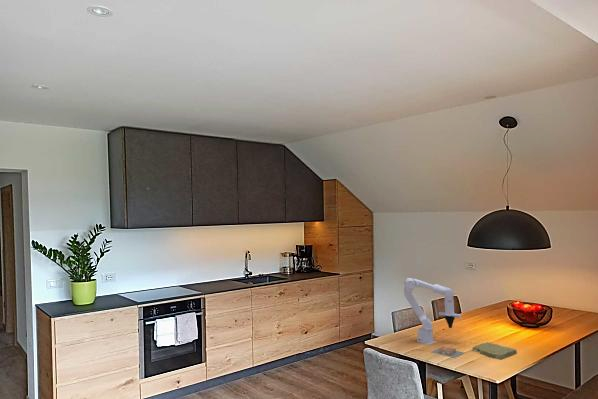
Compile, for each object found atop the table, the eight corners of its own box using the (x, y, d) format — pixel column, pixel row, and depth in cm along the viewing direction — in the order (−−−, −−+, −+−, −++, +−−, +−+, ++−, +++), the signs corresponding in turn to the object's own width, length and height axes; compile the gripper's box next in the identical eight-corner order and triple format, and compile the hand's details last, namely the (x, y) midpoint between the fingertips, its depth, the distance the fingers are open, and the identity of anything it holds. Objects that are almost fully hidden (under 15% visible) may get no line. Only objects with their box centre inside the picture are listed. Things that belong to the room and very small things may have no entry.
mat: (430, 353, 277) (430, 352, 277) (440, 348, 286) (440, 347, 286) (455, 358, 265) (455, 358, 265) (465, 353, 274) (465, 352, 274)
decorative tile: (486, 346, 288) (486, 340, 288) (517, 354, 272) (517, 348, 272) (469, 352, 277) (469, 346, 277) (500, 361, 261) (500, 355, 261)
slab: (438, 348, 275) (450, 351, 269) (443, 346, 280) (455, 348, 274) (438, 352, 275) (450, 355, 269) (443, 350, 280) (455, 352, 274)
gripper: (436, 306, 297) (437, 327, 296) (457, 309, 287) (458, 330, 287) (440, 304, 302) (441, 325, 302) (462, 307, 292) (463, 328, 292)
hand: (450, 327), depth 295 cm, fingers closed
